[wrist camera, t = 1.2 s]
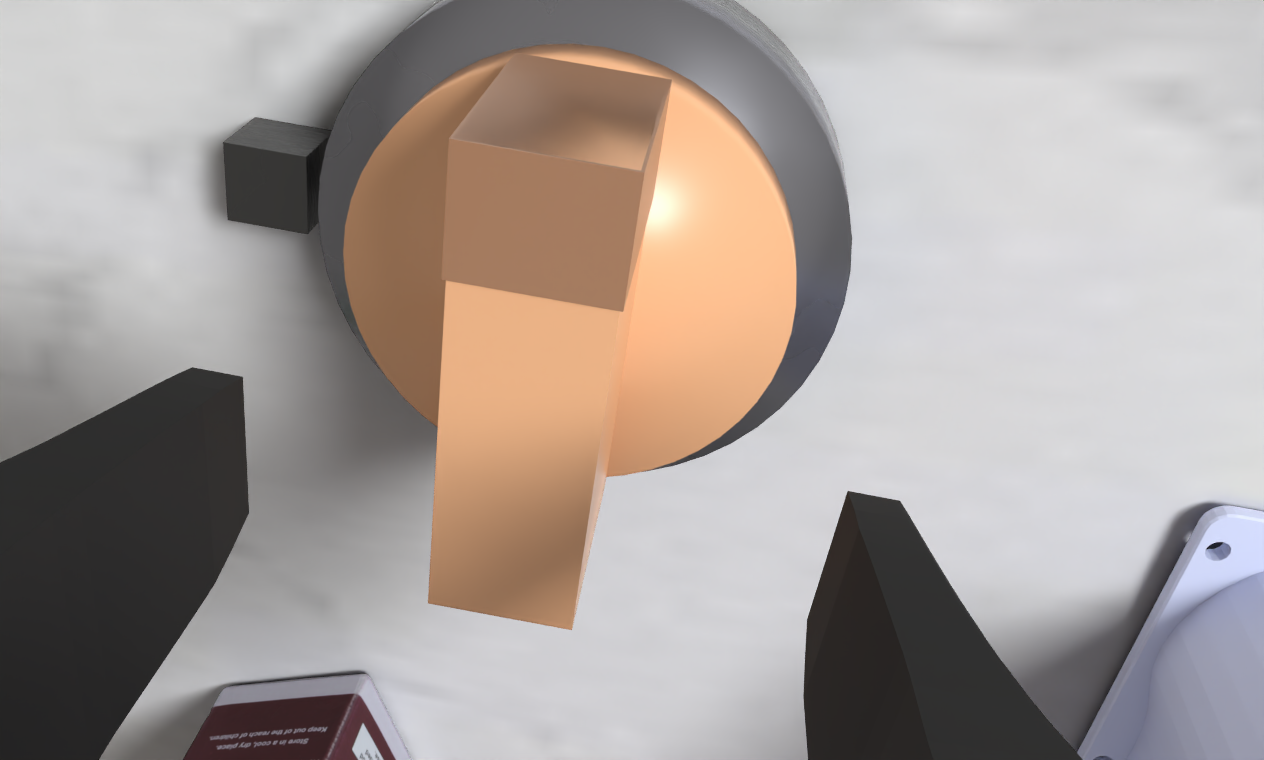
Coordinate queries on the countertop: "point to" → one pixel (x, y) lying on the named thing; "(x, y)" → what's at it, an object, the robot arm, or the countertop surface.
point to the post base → (597, 16)
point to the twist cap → (564, 299)
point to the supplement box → (300, 722)
